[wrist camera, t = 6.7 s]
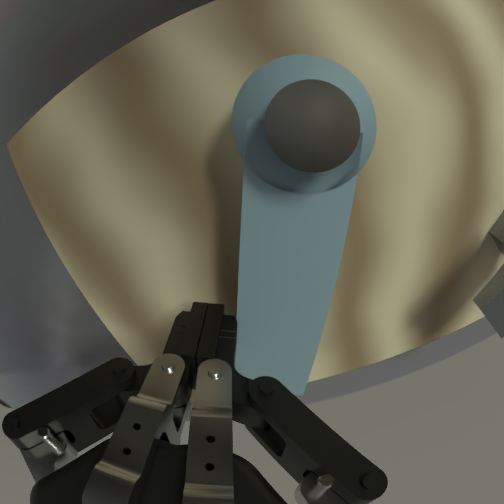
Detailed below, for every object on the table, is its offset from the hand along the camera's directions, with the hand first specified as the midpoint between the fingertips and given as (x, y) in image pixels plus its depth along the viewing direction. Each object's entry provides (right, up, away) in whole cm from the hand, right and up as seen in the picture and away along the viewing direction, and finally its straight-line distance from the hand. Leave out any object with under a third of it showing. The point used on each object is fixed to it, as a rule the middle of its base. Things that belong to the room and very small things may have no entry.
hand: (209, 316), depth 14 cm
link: (+4, +3, -1) cm, 5 cm away
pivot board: (+6, +6, 0) cm, 8 cm away
